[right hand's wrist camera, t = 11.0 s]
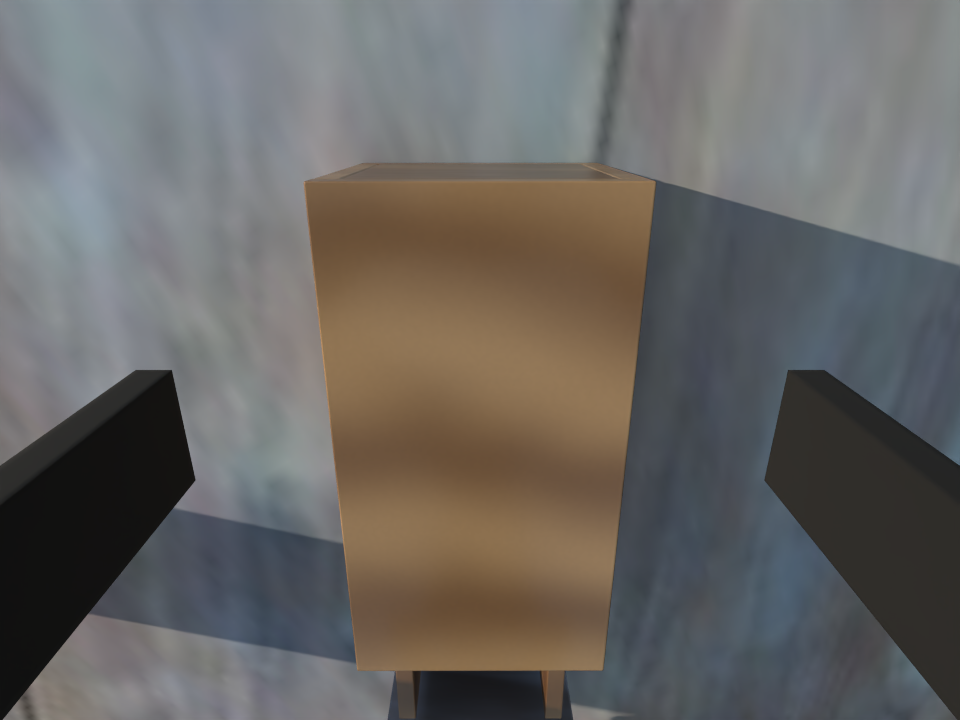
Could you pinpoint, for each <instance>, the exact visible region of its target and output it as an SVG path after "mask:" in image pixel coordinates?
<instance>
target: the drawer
mask: <svg viewBox="0 0 960 720" xmlns="http://www.w3.org/2000/svg"><path fill="white" fill-rule="evenodd" d="M388 720H573V716H572V709H571V703H570V697H569V690H568V684H567V678H566V671H395V675H394V682H393V688H392V695H391V701H390V708H389V714H388Z"/></svg>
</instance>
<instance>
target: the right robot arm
mask: <svg viewBox="0 0 960 720" xmlns="http://www.w3.org/2000/svg"><path fill="white" fill-rule="evenodd" d="M194 482H195V476H194V471H193V466H192V462H191V457H190V452H189V448H188V443H187V439H186V434H185V429H184V425H183V420H182V415H181V411H180V406H179V401H178V397H177V392H176V388H175V383H174V378H173V374H172V370H135V371H134V372H132V373H131V374H130V375H128V376H127V377H125V378H124V379H123V380H121V381H120V382H118V383H117V384H115V385H114V386H113V387H111V388H110V389H108V390H107V391H106V392H104V393H103V394H101V395H100V396H98V397H97V398H96V399H94V400H93V401H91V402H90V403H89V404H87V405H86V406H84V407H83V408H81V409H80V410H79V411H77V412H76V413H74V414H73V415H72V416H70V417H69V418H67V419H66V420H64V421H63V422H62V423H60V424H59V425H57V426H56V427H55V428H53V429H52V430H50V431H49V432H47V433H46V434H45V435H43V436H42V437H40V438H39V439H38V440H36V441H35V442H33V443H32V444H30V445H29V446H28V447H26V448H25V449H23V450H22V451H21V452H19V453H18V454H16V455H15V456H13V457H12V458H11V459H9V460H8V461H6V462H5V463H4V464H2V465H1V466H0V720H3V719H4V717H5V716H6V715H7V714H8V712H9V711H10V710H11V709H12V707H13V706H14V705H15V704H16V702H17V701H18V700H19V699H20V697H21V696H22V695H23V694H24V693H25V691H26V690H27V689H28V688H29V686H30V685H31V684H32V683H33V681H34V680H35V679H36V678H37V676H38V675H39V674H40V673H41V671H42V670H43V669H44V668H45V666H46V665H47V664H48V663H49V661H50V660H51V659H52V658H53V657H54V655H55V654H56V653H57V652H58V650H59V649H60V648H61V647H62V645H63V644H64V643H65V642H66V640H67V639H68V638H69V637H70V635H71V634H72V633H73V632H74V630H75V629H76V628H77V627H78V625H79V624H80V623H81V622H82V621H83V619H84V618H85V617H86V616H87V614H88V613H89V612H90V611H91V609H92V608H93V607H94V606H95V604H96V603H97V602H98V601H99V599H100V598H101V597H102V596H103V594H104V593H105V592H106V591H107V589H108V588H109V587H110V586H111V585H112V583H113V582H114V581H115V580H116V578H117V577H118V576H119V575H120V573H121V572H122V571H123V570H124V568H125V567H126V566H127V565H128V563H129V562H130V561H131V560H132V558H133V557H134V556H135V555H136V554H137V552H138V551H139V550H140V549H141V547H142V546H143V545H144V544H145V542H146V541H147V540H148V539H149V537H150V536H151V535H152V534H153V532H154V531H155V530H156V529H157V527H158V526H159V525H160V524H161V522H162V521H163V520H164V519H165V518H166V516H167V515H168V514H169V513H170V511H171V510H172V509H173V508H174V506H175V505H176V504H177V503H178V501H179V500H180V499H181V498H182V496H183V495H184V494H185V493H186V491H187V490H188V489H189V488H190V486H191V485H192V484H193V483H194ZM765 482H766V483H767V484H768V485H769V486H770V488H771V489H772V490H773V491H774V493H775V494H776V495H777V496H778V498H779V499H780V500H781V501H782V503H783V504H784V505H785V506H786V508H787V509H788V510H789V511H790V513H791V514H792V515H793V516H794V518H795V519H796V520H797V521H798V522H799V524H800V525H801V526H802V527H803V529H804V530H805V531H806V532H807V534H808V535H809V536H810V537H811V539H812V540H813V541H814V542H815V544H816V545H817V546H818V547H819V549H820V550H821V551H822V552H823V554H824V555H825V556H826V557H827V558H828V560H829V561H830V562H831V563H832V565H833V566H834V567H835V568H836V570H837V571H838V572H839V573H840V575H841V576H842V577H843V578H844V580H845V581H846V582H847V583H848V585H849V586H850V587H851V588H852V589H853V591H854V592H855V593H856V594H857V596H858V597H859V598H860V599H861V601H862V602H863V603H864V604H865V606H866V607H867V608H868V609H869V611H870V612H871V613H872V614H873V616H874V617H875V618H876V619H877V621H878V622H879V623H880V624H881V625H882V627H883V628H884V629H885V630H886V632H887V633H888V634H889V635H890V637H891V638H892V639H893V640H894V642H895V643H896V644H897V645H898V647H899V648H900V649H901V650H902V652H903V653H904V654H905V655H906V657H907V658H908V659H909V660H910V661H911V663H912V664H913V665H914V666H915V668H916V669H917V670H918V671H919V673H920V674H921V675H922V676H923V678H924V679H925V680H926V681H927V683H928V684H929V685H930V686H931V688H932V689H933V690H934V691H935V693H936V694H937V695H938V696H939V697H940V699H941V700H942V701H943V702H944V704H945V705H946V706H947V707H948V709H949V710H950V711H951V712H952V714H953V715H954V716H955V717H956V719H957V720H960V466H959V465H958V464H956V463H955V462H954V461H952V460H951V459H949V458H948V457H947V456H945V455H944V454H942V453H941V452H939V451H938V450H937V449H935V448H934V447H932V446H931V445H930V444H928V443H927V442H925V441H924V440H922V439H921V438H920V437H918V436H917V435H915V434H914V433H913V432H911V431H910V430H908V429H907V428H905V427H904V426H903V425H901V424H900V423H898V422H897V421H896V420H894V419H893V418H891V417H890V416H888V415H887V414H886V413H884V412H883V411H881V410H880V409H879V408H877V407H876V406H874V405H873V404H871V403H870V402H869V401H867V400H866V399H864V398H863V397H862V396H860V395H859V394H857V393H856V392H854V391H853V390H852V389H850V388H849V387H847V386H846V385H845V384H843V383H842V382H840V381H839V380H837V379H836V378H835V377H833V376H832V375H830V374H829V373H828V372H826V371H825V370H788V374H787V378H786V383H785V388H784V392H783V397H782V401H781V406H780V411H779V415H778V420H777V425H776V429H775V434H774V439H773V443H772V448H771V452H770V457H769V462H768V466H767V471H766V476H765Z"/></svg>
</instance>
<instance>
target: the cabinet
mask: <svg viewBox="0 0 960 720" xmlns="http://www.w3.org/2000/svg"><path fill="white" fill-rule="evenodd" d="M304 190H305V199H306V208H307V217H308V226H309V236H310V245H311V254H312V263H313V272H314V281H315V290H316V299H317V308H318V317H319V326H320V335H321V345H322V354H323V363H324V372H325V381H326V390H327V399H328V408H329V417H330V426H331V435H332V444H333V453H334V463H335V472H336V481H337V490H338V499H339V508H340V517H341V526H342V535H343V544H344V553H345V562H346V572H347V581H348V590H349V599H350V608H351V617H352V626H353V635H354V644H355V653H356V662H357V670H358V671H602V670H603V668H604V659H605V650H606V641H607V632H608V623H609V613H610V604H611V595H612V586H613V577H614V567H615V558H616V549H617V540H618V531H619V521H620V512H621V503H622V494H623V485H624V476H625V466H626V457H627V448H628V439H629V430H630V420H631V411H632V402H633V393H634V384H635V375H636V365H637V356H638V347H639V338H640V329H641V319H642V310H643V301H644V292H645V283H646V273H647V264H648V255H649V246H650V237H651V228H652V218H653V209H654V200H655V191H656V181H653V180H650V179H647V178H644V177H641V176H638V175H634V174H631V173H628V172H625V171H622V170H618V169H615V168H612V167H609V166H605V165H602V164H598V163H362V164H359V165H356V166H353V167H350V168H347V169H343V170H340V171H337V172H334V173H331V174H328V175H325V176H321V177H318V178H315V179H311V180H307V181H305V182H304Z"/></svg>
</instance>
